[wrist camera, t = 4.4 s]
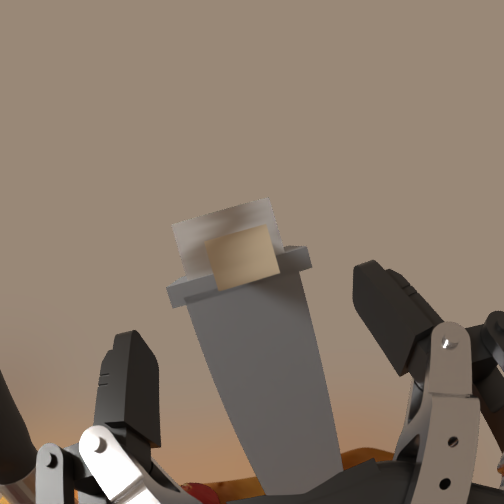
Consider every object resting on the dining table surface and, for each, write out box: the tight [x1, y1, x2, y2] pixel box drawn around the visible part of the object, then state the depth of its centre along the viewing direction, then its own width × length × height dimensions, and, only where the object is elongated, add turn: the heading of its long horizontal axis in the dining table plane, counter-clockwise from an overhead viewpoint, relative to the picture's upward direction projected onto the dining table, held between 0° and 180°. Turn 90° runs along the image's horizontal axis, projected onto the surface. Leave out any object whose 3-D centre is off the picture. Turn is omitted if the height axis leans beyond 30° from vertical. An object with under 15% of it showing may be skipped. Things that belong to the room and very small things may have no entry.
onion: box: [180, 483, 220, 504], centre depth 24 cm, size 6×6×8 cm
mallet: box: [172, 197, 285, 291], centre depth 18 cm, size 7×14×4 cm, turn 7°
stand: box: [166, 246, 343, 495], centre depth 23 cm, size 10×6×32 cm, turn 95°
